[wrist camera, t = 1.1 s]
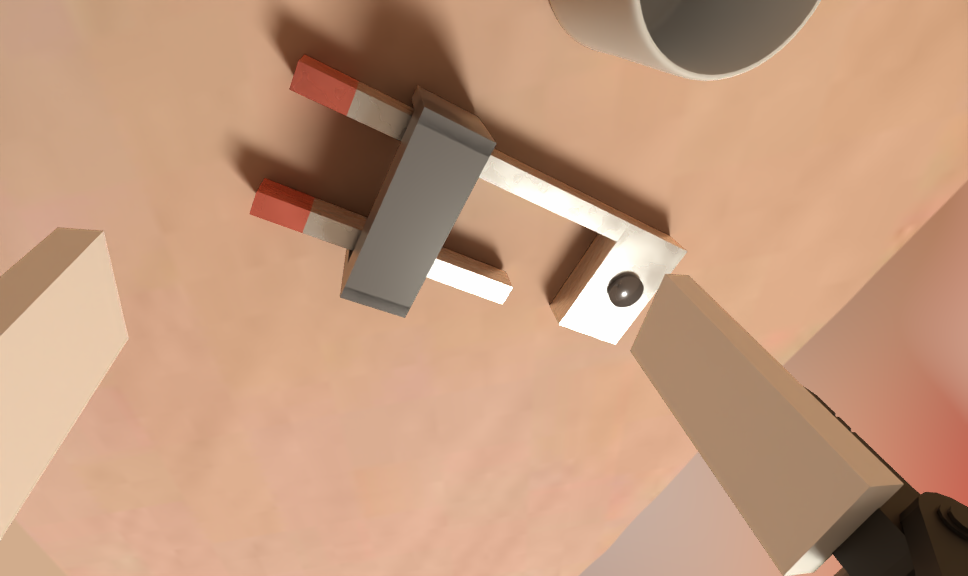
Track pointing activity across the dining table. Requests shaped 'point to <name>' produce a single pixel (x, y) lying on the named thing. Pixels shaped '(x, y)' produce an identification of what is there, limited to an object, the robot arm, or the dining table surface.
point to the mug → (686, 32)
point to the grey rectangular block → (416, 204)
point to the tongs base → (621, 238)
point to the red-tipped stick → (347, 227)
